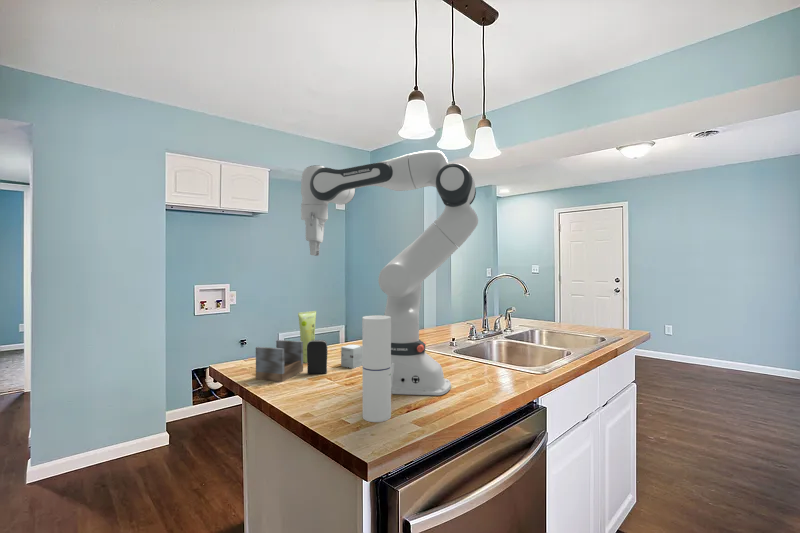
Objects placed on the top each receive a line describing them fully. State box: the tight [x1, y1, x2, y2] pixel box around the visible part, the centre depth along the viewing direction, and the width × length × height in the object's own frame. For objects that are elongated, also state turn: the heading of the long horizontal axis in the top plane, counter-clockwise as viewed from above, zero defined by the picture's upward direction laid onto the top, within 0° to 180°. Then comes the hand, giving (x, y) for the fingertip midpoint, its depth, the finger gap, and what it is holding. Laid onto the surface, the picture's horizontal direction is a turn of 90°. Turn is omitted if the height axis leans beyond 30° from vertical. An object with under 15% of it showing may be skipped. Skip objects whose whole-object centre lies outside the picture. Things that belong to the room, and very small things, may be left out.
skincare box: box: [340, 344, 363, 369], centre depth 148 cm, size 6×6×7 cm
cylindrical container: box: [361, 314, 392, 423], centre depth 100 cm, size 7×7×25 cm
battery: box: [306, 339, 328, 375], centre depth 139 cm, size 7×4×11 cm, turn 95°
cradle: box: [255, 339, 304, 383], centre depth 136 cm, size 10×13×10 cm
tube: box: [297, 310, 317, 364], centre depth 154 cm, size 6×5×20 cm
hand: (314, 255), depth 135 cm, fingers open, 8 cm apart
